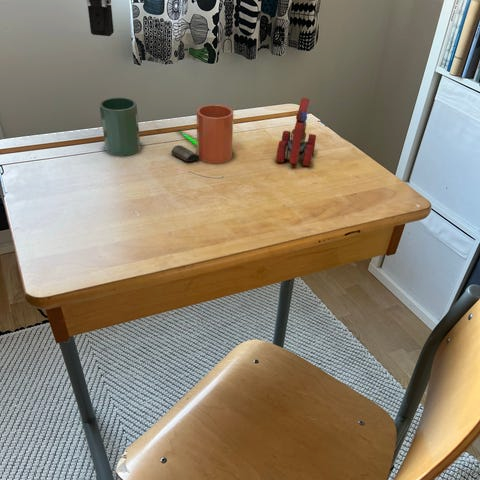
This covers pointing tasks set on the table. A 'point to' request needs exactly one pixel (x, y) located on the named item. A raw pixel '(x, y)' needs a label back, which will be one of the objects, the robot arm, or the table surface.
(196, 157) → the block
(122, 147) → the green cup
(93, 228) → the table surface
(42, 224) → the table surface
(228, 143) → the cup
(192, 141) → the green marker pen
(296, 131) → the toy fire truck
